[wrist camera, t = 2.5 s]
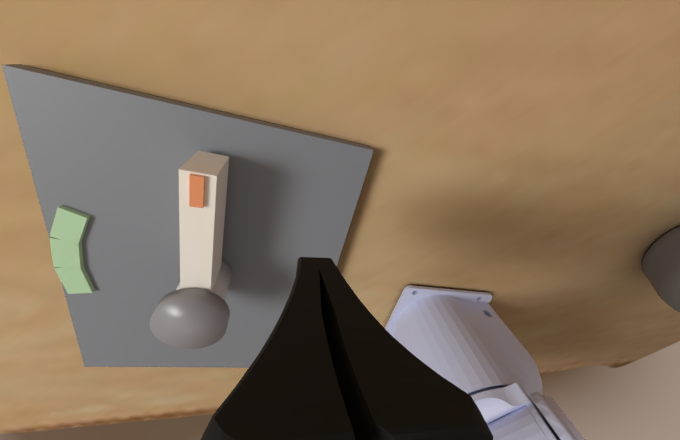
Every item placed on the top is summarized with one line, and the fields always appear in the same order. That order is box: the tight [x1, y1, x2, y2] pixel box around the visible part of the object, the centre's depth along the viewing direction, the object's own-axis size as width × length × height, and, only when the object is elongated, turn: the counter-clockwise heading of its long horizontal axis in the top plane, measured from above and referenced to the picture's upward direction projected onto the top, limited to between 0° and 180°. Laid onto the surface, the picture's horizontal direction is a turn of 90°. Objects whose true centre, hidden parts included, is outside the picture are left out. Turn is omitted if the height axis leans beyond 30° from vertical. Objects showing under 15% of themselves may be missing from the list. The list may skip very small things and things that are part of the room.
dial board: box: [2, 64, 374, 368], centre depth 20 cm, size 18×22×1 cm
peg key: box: [150, 151, 232, 349], centre depth 16 cm, size 11×4×4 cm, turn 165°
